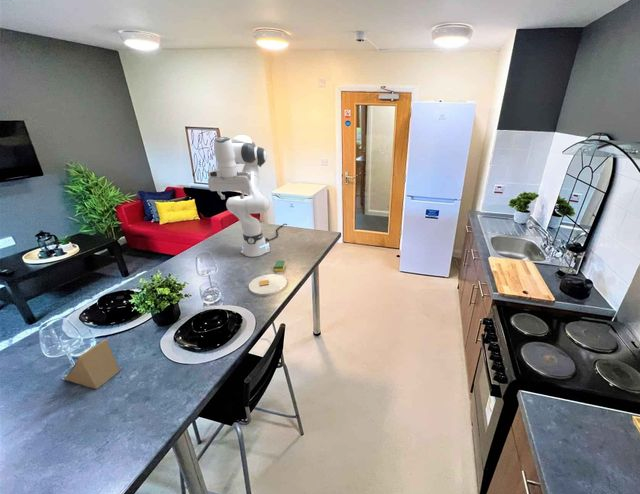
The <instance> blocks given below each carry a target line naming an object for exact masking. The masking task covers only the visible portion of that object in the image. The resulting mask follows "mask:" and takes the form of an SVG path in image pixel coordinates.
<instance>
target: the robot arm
mask: <svg viewBox="0 0 640 494" xmlns="http://www.w3.org/2000/svg"><path fill="white" fill-rule="evenodd" d="M213 148H214V149H213V151H214V158H215V160H216V163H217V164H216V167H217V168H215V169H212V170H210V171H209V172H208V173H207V175H208V178H207V186H208V190H209V191H210V192H217V194H218V196H220V199H221V200H226V195H225V194H223V193H222V192H241V193H242V194H240V195H236V196H231V197H228V198H227V200H226V202H225V207H226V209H227V212H229V213H231V214H232V215H234V216H235V217H236V218H237V219H238V220H239V222H240V224H241V229H242V232H243V233H242V238H243V240H242V241H241V248H242V249H241V251H240V254H243V255H244V256H245V257H249V258H250V257H251V258H253V257H260V256H263V255H265V254H267V253H270V252H271V249H270V248H271V247H270V242H269V241H272V240H275V239H277V237H278V235H279V232H278V230H279V229H280V228H282V227H283V226H285V225H286V226H288V224H287V223H283V224H281V225H280V226H278V227H277V228H276V230H275V232H276V235H275V236H274V237H272V238H268V237H265V236H264V234H263V229H262V226H261V222H260V220H259V219H258V218H257V217H254V216H252V214H263V213H267V212H268V211H269V210H270V206H271V205H270V204H271V203H270V201H269V199H268V198H267V196H264V195H263V194H262V193H261V191H260V171H259V168H261V167H262V166H263V165H264V164H265V163H266V160H267V152H266V150H265V148H264V147H260V146H257V147H256V143H255V142H253V139H252V138H251V137H250V136H248V135H245V134H239V135H236V136H234V137H233V138H232V139H231V138H230V137H227V136H220V137H216V138H214V140H213ZM240 164H241V165H243V168H242V171H238V165H240ZM245 194H246V195H245Z"/></svg>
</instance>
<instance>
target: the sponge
mask: <svg viewBox="0 0 640 494" xmlns="http://www.w3.org/2000/svg"><path fill="white" fill-rule="evenodd" d="M285 266H286V260H284V259H283V260H280V259H279V260H276V261H275V263H274V266H273V268H274V269H273V270H274V272H284V271H285Z"/></svg>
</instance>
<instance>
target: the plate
mask: <svg viewBox="0 0 640 494" xmlns="http://www.w3.org/2000/svg"><path fill="white" fill-rule="evenodd" d="M262 280H269V285H265V286H260V281H262ZM287 283H288V280H287V277H285V276H283V275H281V274H278V273H268V274H262V275H260V276H258V277H255V278H254V279H252V280H251V281H250V282H249V284H248V290H250V291H251V292H252V293H255V294H259V295H266V294H267V295H268V294H273V293H276V292H278V291H280V290H283V288H284V287H286V285H287Z"/></svg>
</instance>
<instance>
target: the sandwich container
mask: <svg viewBox="0 0 640 494" xmlns="http://www.w3.org/2000/svg"><path fill="white" fill-rule="evenodd" d="M119 372H121V369H120V367H119V364H118V362H117V359H116V358H115V356H114V353H113V351H112V349H111V346H110V344H109V341H108V340H107V338H106V339H103V340H102V341H100V342H99V343H96V344H95V345H94V346H92V347H91V348H89V349H88V350H86V351H85V352H84V353H82V354H81V355H80V356H78V358H77V360H76V361H75V363H74V365H73V366H72V367H71V368H70V370H69V372H68V373H67V375H66V376H65V377H64V380H65V381H68V382H72V383H74V384H77V385H81V386H84V387H86V388H91V389H95V390H97V389H99V388H101V386H102V385H104V384H105V383H107V382H108V381H109V380H111V378H113V377H114V376H115V375H117V374H118V373H119Z"/></svg>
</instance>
